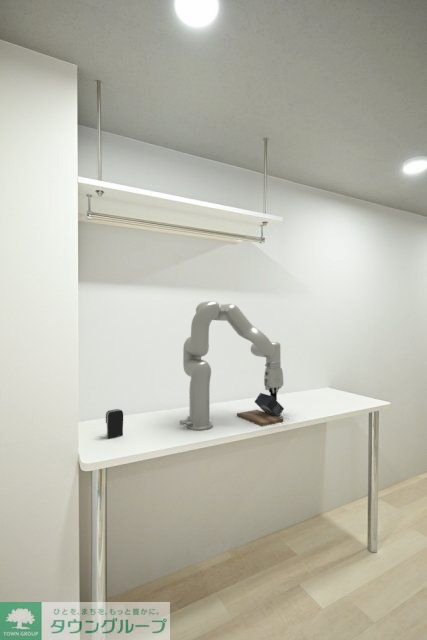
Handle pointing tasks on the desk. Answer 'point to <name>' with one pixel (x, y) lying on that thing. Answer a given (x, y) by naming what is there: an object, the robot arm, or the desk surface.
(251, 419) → the board
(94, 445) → the desk surface
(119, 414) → the battery charger
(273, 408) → the small box
